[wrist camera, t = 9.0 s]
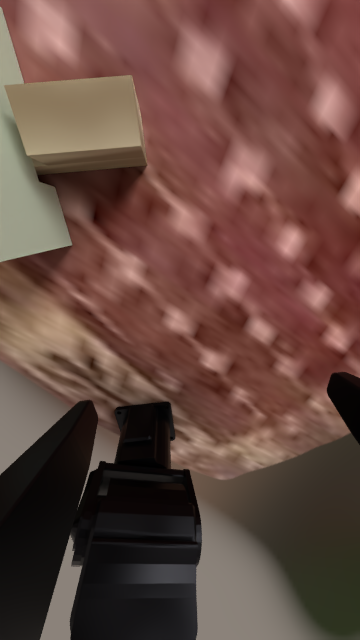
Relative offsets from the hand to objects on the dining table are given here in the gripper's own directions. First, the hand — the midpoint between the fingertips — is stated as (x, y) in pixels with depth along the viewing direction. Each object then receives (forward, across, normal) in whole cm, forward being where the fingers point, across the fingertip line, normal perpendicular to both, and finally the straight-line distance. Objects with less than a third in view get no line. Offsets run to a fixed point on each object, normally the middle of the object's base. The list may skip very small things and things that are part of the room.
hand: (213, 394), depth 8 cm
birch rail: (+12, +10, -11) cm, 19 cm away
